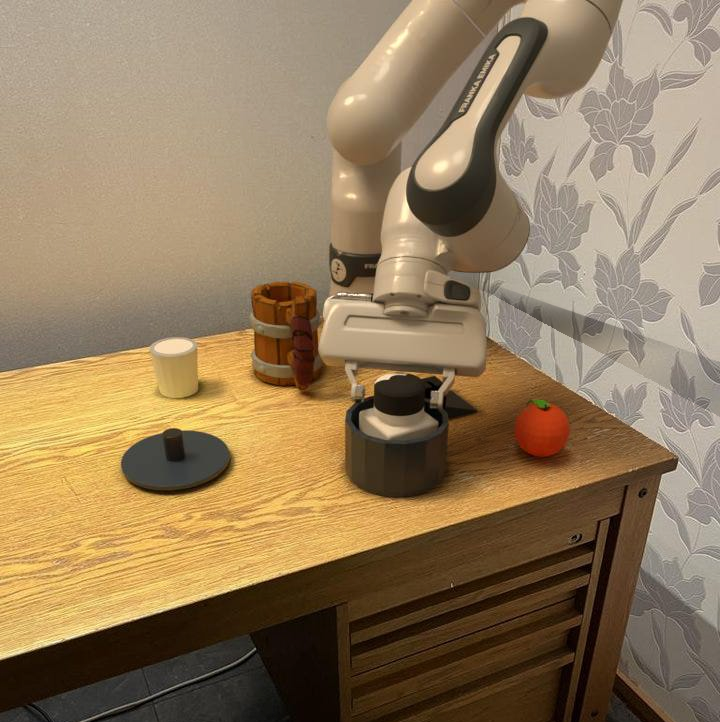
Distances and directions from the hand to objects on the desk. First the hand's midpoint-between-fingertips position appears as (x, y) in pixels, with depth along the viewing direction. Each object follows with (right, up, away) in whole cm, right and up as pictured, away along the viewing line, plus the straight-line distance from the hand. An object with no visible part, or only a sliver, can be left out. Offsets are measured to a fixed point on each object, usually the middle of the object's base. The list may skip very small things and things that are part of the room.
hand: (396, 404), depth 95 cm
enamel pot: (0, -8, +6) cm, 10 cm away
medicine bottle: (0, -7, +6) cm, 9 cm away
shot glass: (-31, +4, +24) cm, 40 cm away
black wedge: (+5, +1, +19) cm, 19 cm away
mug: (-15, +6, +27) cm, 32 cm away
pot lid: (-28, -7, +6) cm, 29 cm away
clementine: (+19, -5, +10) cm, 22 cm away
